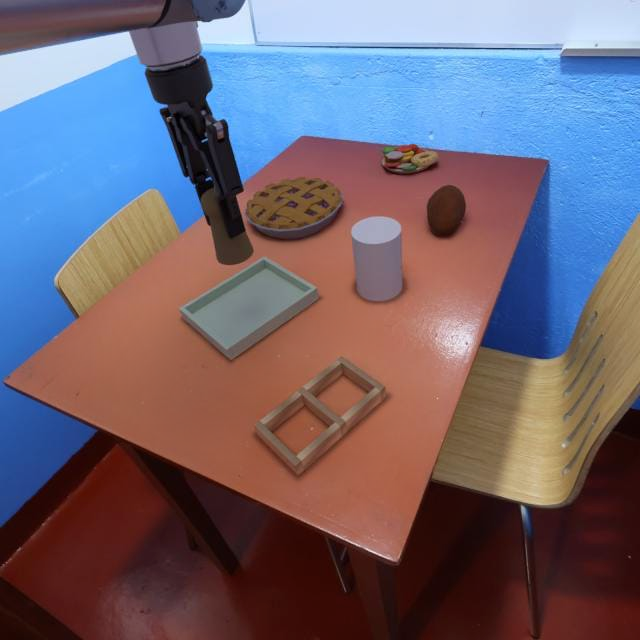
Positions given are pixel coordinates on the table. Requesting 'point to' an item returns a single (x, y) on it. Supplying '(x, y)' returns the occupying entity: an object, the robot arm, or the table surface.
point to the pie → (294, 207)
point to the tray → (248, 306)
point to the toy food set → (407, 159)
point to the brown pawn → (225, 234)
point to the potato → (445, 209)
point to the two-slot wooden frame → (320, 413)
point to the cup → (377, 257)
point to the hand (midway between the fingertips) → (226, 227)
